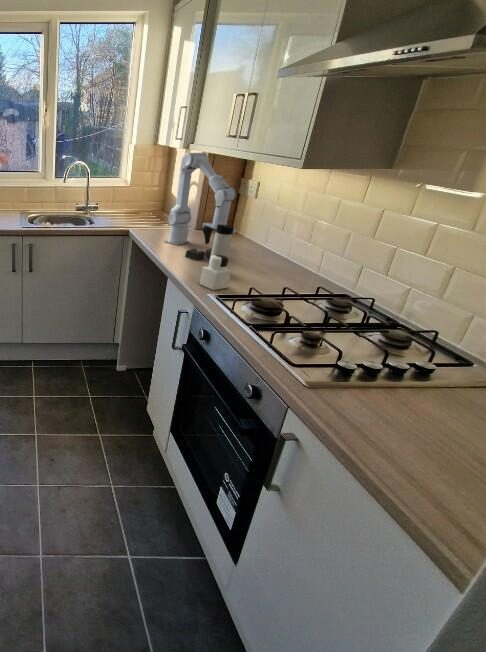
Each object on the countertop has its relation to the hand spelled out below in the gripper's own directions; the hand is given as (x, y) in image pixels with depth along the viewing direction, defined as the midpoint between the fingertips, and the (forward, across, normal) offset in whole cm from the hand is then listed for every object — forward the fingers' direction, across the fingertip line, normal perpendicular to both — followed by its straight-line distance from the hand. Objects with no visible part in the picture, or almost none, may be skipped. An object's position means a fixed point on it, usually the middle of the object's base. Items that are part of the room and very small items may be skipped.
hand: (214, 245), depth 190 cm
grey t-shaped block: (+5, 0, -1) cm, 5 cm away
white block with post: (+6, +20, -35) cm, 41 cm away
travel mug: (+6, +12, -19) cm, 23 cm away
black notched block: (+5, -4, -8) cm, 11 cm away
